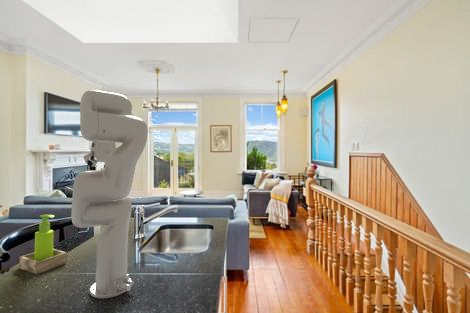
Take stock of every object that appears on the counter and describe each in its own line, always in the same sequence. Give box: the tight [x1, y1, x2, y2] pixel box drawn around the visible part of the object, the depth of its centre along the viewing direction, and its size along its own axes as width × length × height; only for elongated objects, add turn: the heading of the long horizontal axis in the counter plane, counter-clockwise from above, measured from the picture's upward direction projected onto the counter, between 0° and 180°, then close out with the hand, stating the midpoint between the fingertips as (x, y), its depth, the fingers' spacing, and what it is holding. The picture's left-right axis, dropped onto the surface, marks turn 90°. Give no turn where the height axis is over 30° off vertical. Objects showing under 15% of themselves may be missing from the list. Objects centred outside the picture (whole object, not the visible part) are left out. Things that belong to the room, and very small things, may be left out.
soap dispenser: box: [33, 213, 56, 261], centre depth 96 cm, size 6×7×20 cm
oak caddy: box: [18, 248, 68, 275], centre depth 96 cm, size 12×11×4 cm
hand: (102, 175), depth 106 cm, fingers open, 9 cm apart
